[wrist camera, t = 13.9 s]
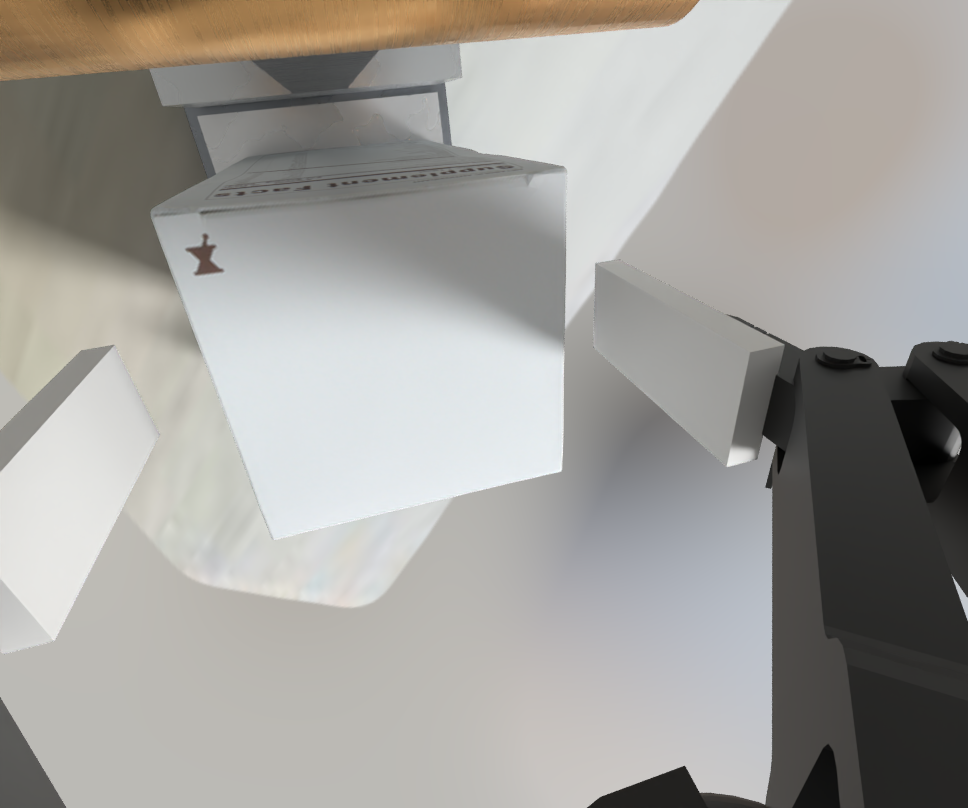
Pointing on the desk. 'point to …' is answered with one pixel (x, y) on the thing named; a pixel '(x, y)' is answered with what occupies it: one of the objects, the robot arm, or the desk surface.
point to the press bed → (318, 123)
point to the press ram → (288, 40)
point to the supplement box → (377, 322)
